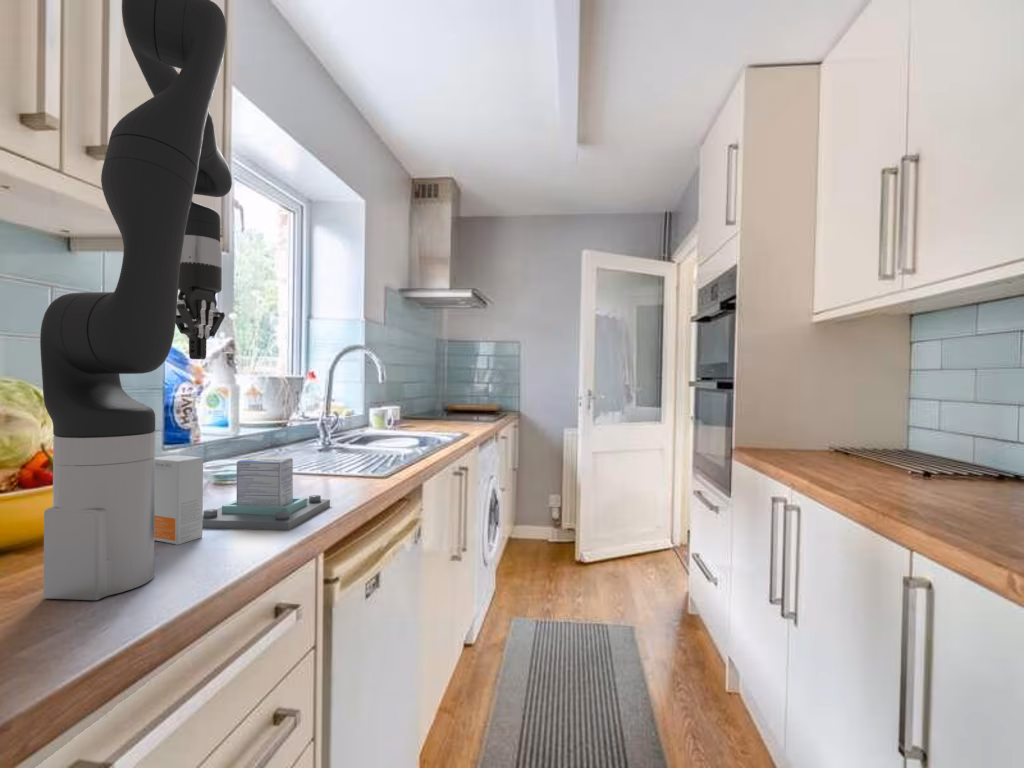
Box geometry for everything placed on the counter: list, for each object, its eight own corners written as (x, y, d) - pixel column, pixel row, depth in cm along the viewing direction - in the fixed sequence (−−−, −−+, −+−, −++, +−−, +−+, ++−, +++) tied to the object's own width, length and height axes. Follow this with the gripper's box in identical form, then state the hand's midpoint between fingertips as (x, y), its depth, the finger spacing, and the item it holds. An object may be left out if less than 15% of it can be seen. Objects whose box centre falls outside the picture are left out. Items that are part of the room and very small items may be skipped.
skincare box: (146, 540, 77) (147, 458, 77) (174, 532, 81) (175, 454, 81) (177, 545, 75) (177, 460, 74) (204, 537, 79) (204, 456, 78)
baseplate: (288, 530, 83) (288, 514, 83) (190, 527, 84) (190, 512, 84) (329, 505, 99) (330, 493, 99) (247, 503, 100) (247, 491, 100)
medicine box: (293, 506, 93) (294, 457, 93) (281, 513, 88) (281, 461, 88) (250, 505, 93) (250, 456, 93) (235, 511, 89) (235, 460, 89)
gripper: (193, 256, 90) (193, 358, 90) (239, 272, 103) (238, 360, 103) (151, 256, 91) (151, 357, 91) (202, 272, 104) (201, 360, 104)
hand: (197, 359), depth 97 cm, fingers closed
